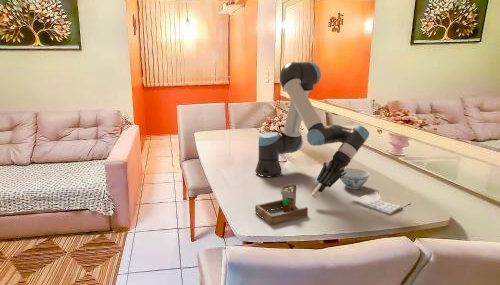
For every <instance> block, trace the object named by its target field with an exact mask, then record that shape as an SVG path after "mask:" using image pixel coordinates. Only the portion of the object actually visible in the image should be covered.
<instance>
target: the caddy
mask: <svg viewBox="0 0 500 285" xmlns="http://www.w3.org/2000/svg"><path fill="white" fill-rule="evenodd" d="M281 207H283V201H282V199H279V200H273V201H269V202H264V203H261V204H256V205H255V206H254V208H255V210H254V212H256V213H258V214H259V215H260V216H261V217H263V218H264V219H265V220H266V221H265V220H264V219H263V218H262V219H263V220H264V221H265V222H266V223H270V226H274V225H279V224H282V223H287V222H289V221H294V220H297V219H301V218H305V217H308V215H309V214H308V209H309V208H308V207H307V206H306V207H303V208H302V207H301V208H298V209H295V210H293V211H289V212H281V213H278V214H274V215H273V214H271V213H270V212H269V211H267V210H271V209H275V210H278V209H277V208H280V209H282V208H281ZM271 211H272V210H271ZM256 213H255V214H256ZM259 215H258V216H259ZM260 216H259V217H260ZM261 217H260V218H261Z"/></svg>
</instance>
